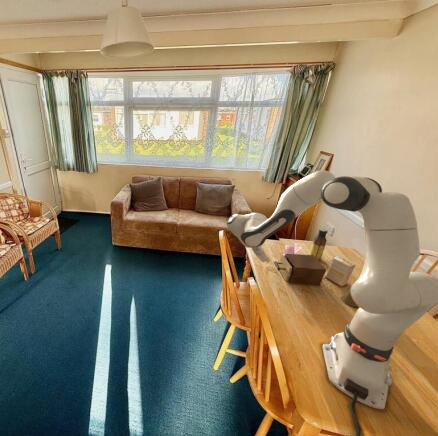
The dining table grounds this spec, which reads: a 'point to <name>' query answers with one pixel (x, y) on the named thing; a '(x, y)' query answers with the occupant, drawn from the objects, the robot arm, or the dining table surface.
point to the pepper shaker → (349, 299)
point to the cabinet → (306, 269)
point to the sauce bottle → (319, 244)
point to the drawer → (284, 267)
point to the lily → (291, 249)
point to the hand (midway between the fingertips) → (265, 255)
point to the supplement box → (340, 270)
